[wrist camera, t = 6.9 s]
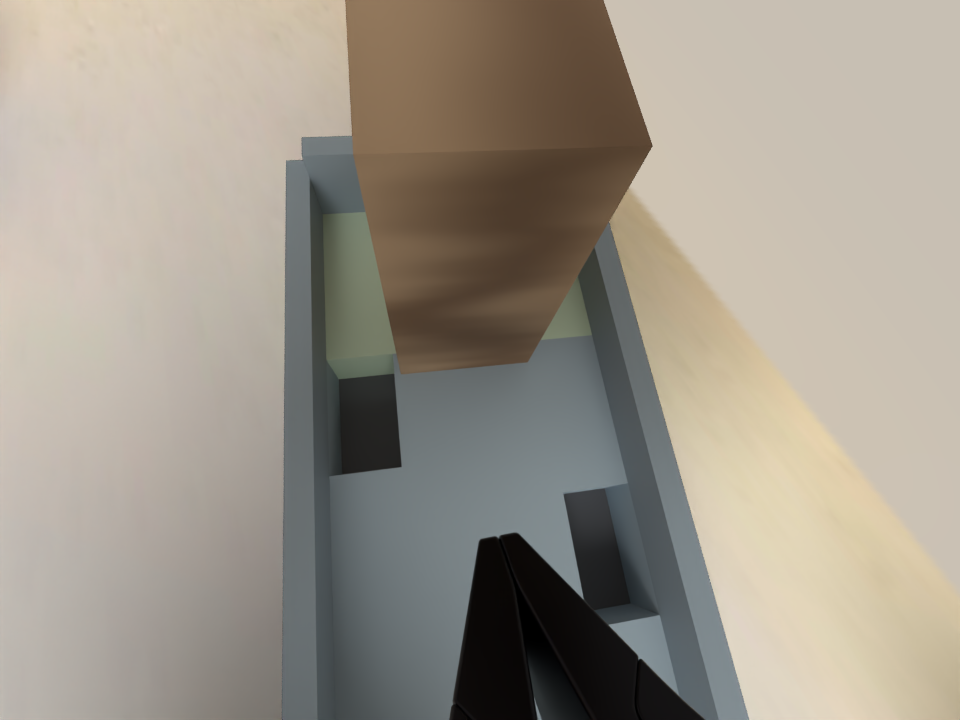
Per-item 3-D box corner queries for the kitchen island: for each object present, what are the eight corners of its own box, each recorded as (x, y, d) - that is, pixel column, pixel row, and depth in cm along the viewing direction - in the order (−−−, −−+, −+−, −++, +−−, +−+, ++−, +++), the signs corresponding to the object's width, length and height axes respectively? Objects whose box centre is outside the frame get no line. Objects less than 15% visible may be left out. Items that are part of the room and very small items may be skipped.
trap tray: (329, 876, 13) (260, 1109, 8) (316, 236, 20) (277, 138, 15) (692, 786, 14) (834, 929, 9) (559, 222, 22) (597, 129, 17)
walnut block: (400, 374, 16) (353, 154, 6) (388, 211, 18) (338, -126, 9) (527, 362, 16) (652, 145, 7) (499, 205, 19) (564, -114, 9)
